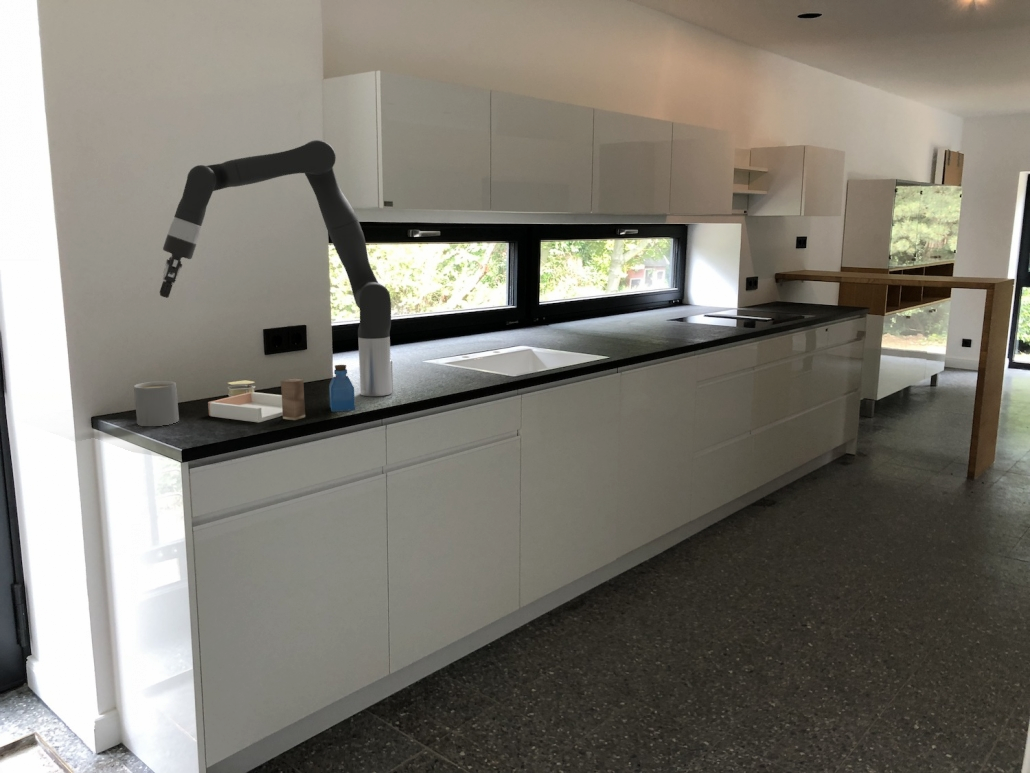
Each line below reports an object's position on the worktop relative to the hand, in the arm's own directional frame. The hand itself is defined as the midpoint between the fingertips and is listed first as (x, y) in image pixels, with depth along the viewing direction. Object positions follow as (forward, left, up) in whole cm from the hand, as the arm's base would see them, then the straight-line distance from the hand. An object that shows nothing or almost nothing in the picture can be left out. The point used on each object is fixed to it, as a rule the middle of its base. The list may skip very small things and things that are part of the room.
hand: (163, 295), depth 227 cm
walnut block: (-8, +36, -31) cm, 49 cm away
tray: (-8, +23, -31) cm, 40 cm away
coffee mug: (+10, +8, -32) cm, 34 cm away
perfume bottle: (-23, +40, -32) cm, 56 cm away
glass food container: (-20, +6, -32) cm, 38 cm away
